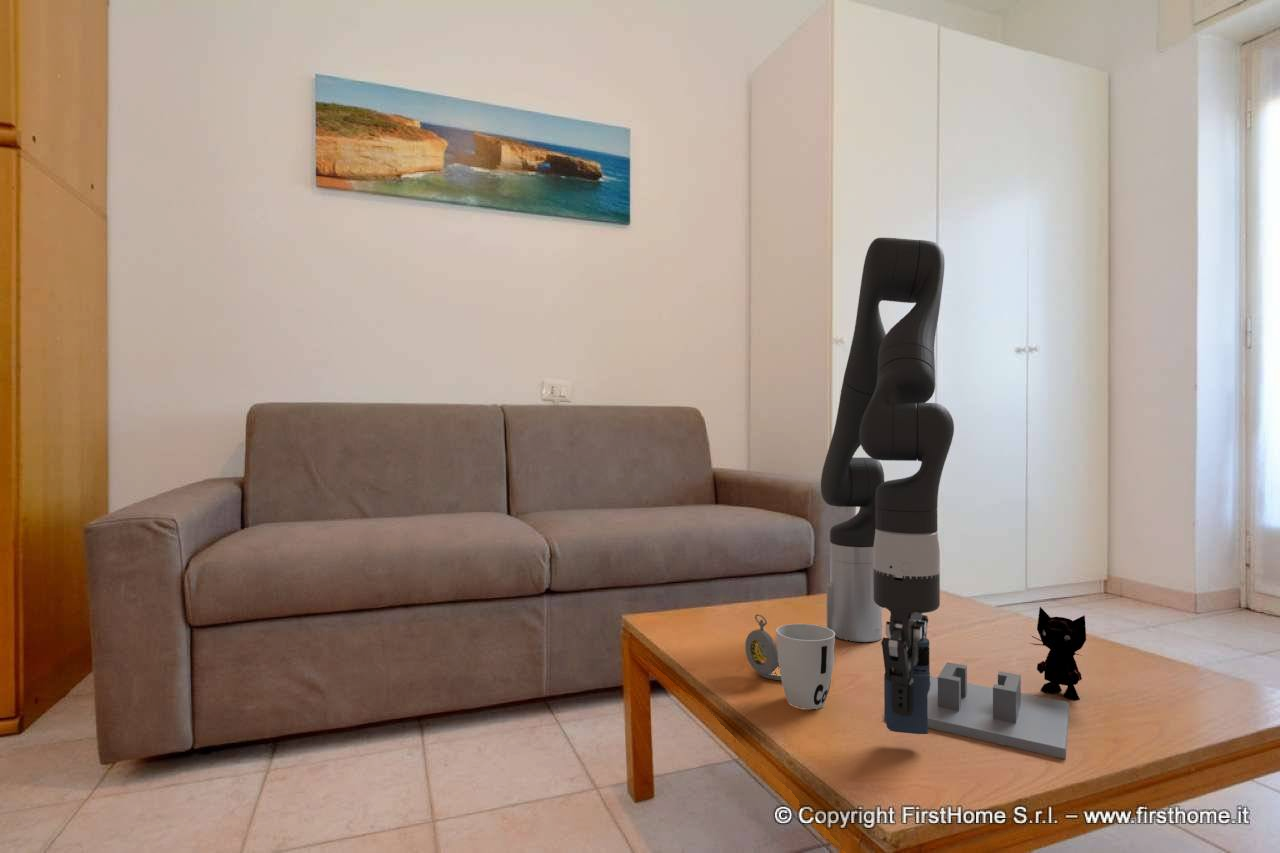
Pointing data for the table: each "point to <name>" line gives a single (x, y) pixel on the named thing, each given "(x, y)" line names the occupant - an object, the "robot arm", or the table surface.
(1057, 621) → the cat figurine
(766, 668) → the pocket watch
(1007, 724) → the dock
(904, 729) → the vaping device
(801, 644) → the cup
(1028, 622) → the table surface
